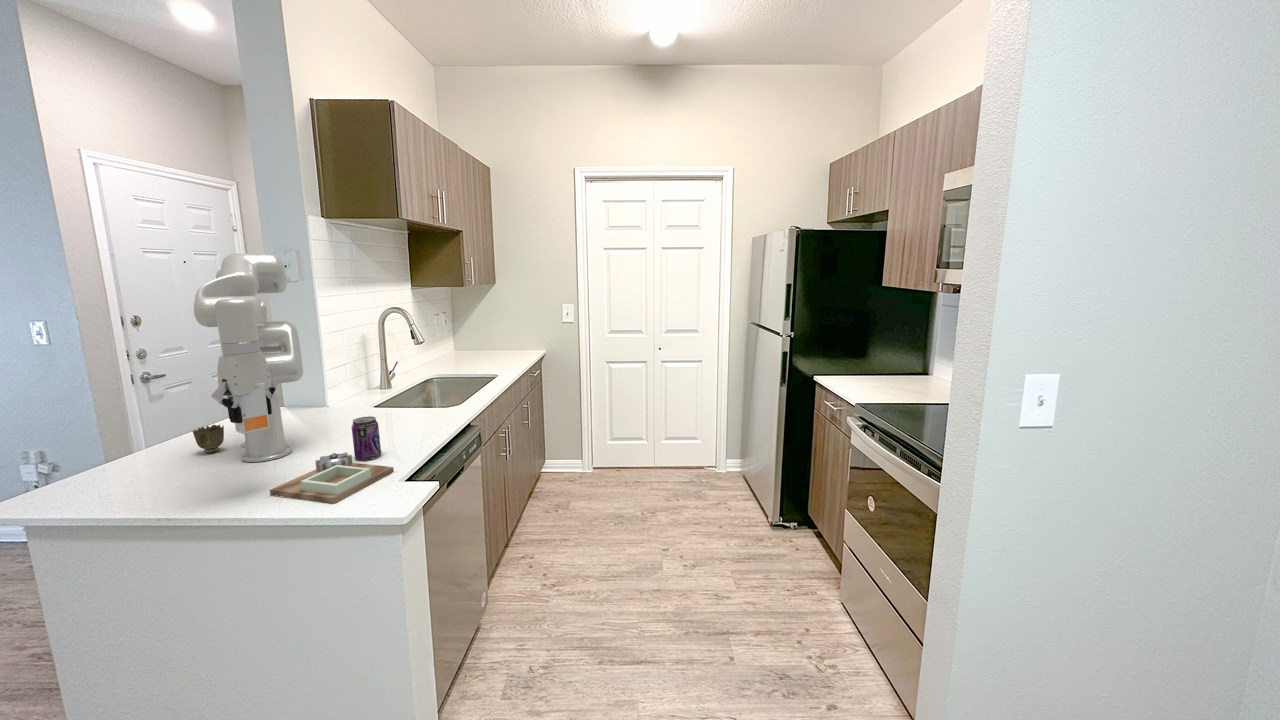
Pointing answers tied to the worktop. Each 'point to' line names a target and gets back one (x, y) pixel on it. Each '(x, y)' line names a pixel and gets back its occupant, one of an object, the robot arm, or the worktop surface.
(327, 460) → the sun gear
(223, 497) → the worktop surface
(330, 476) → the green square frame
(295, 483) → the carrier plate
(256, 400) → the skincare box
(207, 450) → the cup
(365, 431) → the beverage can
